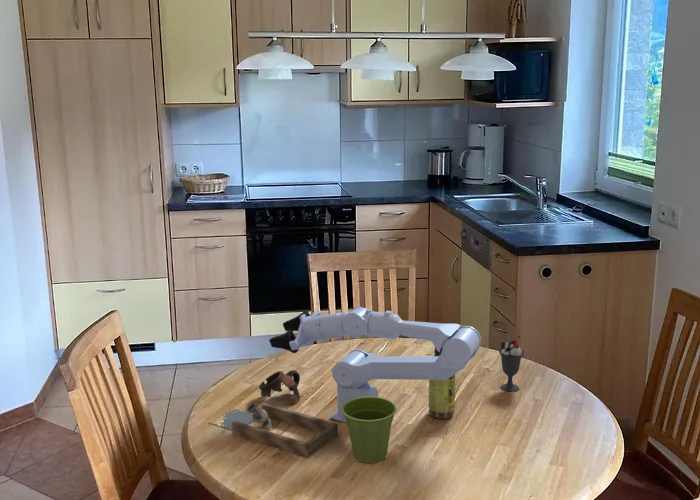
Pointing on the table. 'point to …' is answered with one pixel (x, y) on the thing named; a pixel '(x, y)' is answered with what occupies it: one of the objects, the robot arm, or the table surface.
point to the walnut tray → (285, 443)
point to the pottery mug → (275, 384)
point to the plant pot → (369, 426)
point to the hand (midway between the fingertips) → (277, 334)
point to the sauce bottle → (441, 396)
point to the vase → (260, 416)
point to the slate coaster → (236, 418)
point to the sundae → (510, 362)
